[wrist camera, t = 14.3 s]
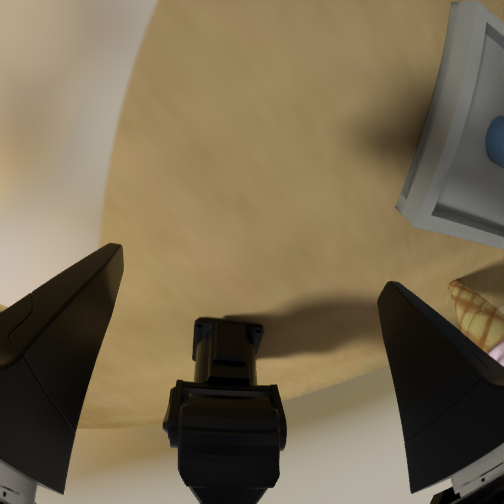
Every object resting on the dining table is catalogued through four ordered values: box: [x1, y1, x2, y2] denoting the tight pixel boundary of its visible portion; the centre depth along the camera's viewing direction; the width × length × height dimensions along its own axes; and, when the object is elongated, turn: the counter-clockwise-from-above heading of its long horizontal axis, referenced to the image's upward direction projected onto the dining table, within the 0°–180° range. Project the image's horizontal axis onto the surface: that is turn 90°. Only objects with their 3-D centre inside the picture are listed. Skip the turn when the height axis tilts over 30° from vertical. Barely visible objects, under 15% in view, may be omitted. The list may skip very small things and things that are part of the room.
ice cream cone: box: [449, 280, 504, 366], centre depth 21 cm, size 7×6×15 cm
